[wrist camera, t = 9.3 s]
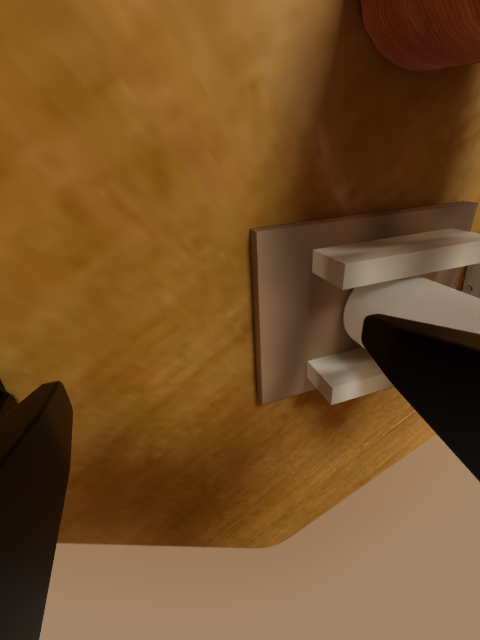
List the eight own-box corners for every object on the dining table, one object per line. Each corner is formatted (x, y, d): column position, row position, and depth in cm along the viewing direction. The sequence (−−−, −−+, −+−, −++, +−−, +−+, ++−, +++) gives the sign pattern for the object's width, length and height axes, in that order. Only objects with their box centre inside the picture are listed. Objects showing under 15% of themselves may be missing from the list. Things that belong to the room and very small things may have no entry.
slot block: (257, 395, 26) (281, 436, 22) (250, 228, 20) (281, 244, 16) (425, 349, 31) (470, 377, 27) (463, 201, 24) (530, 208, 20)
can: (420, 299, 26) (610, 385, 16) (363, 353, 27) (510, 469, 16) (388, 247, 23) (603, 314, 12) (325, 311, 23) (479, 424, 13)
